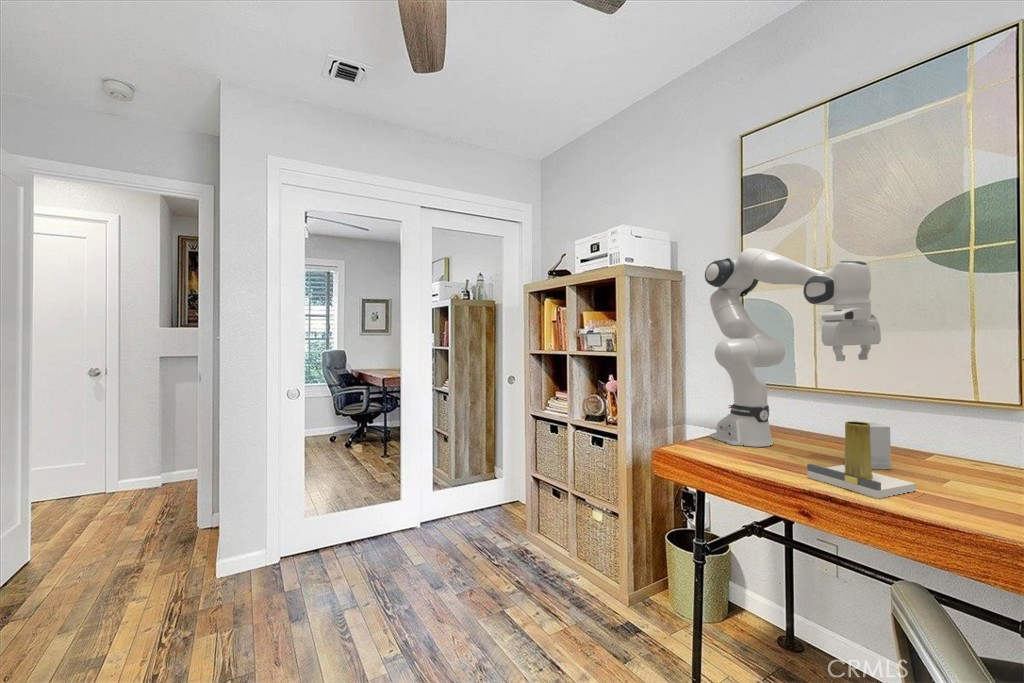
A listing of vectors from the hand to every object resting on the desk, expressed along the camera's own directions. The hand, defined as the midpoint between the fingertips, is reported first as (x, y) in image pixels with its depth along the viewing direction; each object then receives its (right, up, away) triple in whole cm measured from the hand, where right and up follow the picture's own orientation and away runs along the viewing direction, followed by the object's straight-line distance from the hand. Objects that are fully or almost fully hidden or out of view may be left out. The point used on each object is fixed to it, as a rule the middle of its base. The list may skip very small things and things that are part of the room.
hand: (851, 360), depth 134 cm
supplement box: (+6, -32, +1) cm, 33 cm away
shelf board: (-10, -32, -15) cm, 37 cm away
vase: (-10, -31, -15) cm, 35 cm away
